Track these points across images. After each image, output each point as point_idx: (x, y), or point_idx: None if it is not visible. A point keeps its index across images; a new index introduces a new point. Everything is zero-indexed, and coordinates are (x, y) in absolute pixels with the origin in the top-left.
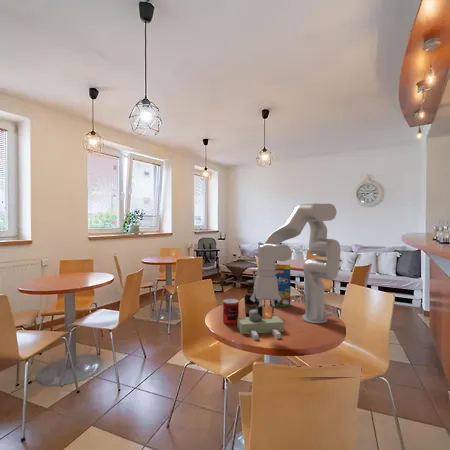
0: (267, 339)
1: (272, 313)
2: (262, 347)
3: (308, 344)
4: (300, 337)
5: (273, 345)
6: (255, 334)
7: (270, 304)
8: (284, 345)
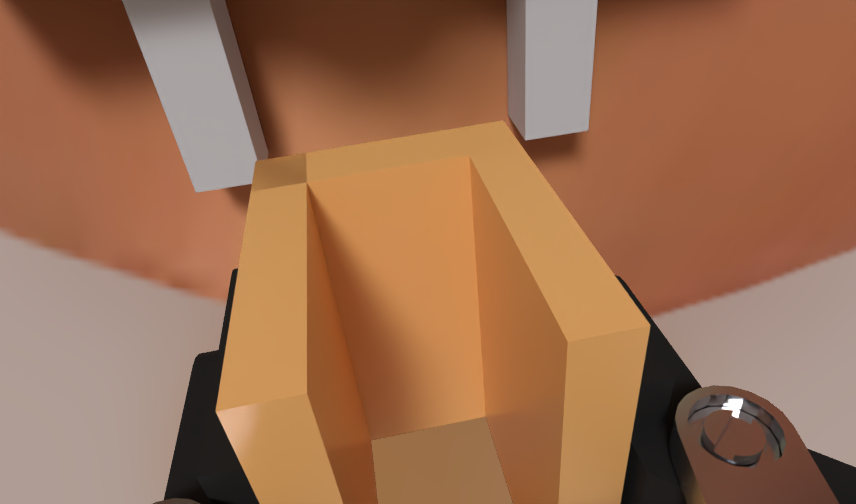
0: None
1: None
2: None
3: (770, 241)
4: (814, 74)
5: None
6: (219, 166)
7: (648, 501)
8: None
